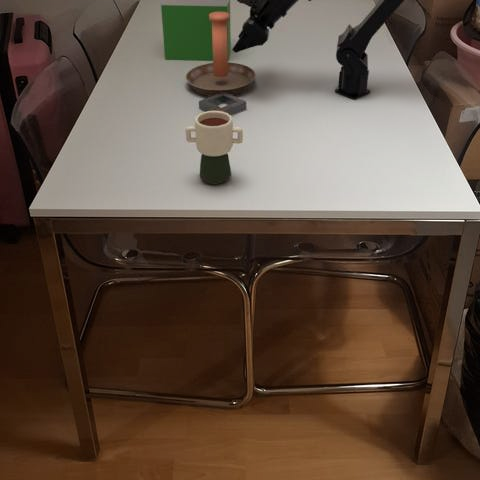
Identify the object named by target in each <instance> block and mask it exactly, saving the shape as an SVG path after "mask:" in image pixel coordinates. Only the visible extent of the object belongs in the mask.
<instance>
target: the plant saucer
mask: <svg viewBox="0 0 480 480" xmlns="http://www.w3.org/2000/svg"><path fill="white" fill-rule="evenodd" d="M185 75H186V76H185V80H186V82H187V83H188V85H189V86H190V87H191V88H192V89H193V90H195V91H196V92H197V93H198V94H202V95H204V96H208V97H211V96H214V95H216V94H219V93H222V92H226V93H228V94H231V95H233V96H235V95H238V94H240V93H242V92H245V90H247V89H248V88H249V87H250V86H251V85H252V83H253V82H254V80H255V78H256V72H255V70H254V69H252V68H251V67H249V66H247V65H245V64H241V63H237V62H230V61H228V75H227V76H225V77H216V76H214V72H213V62H209V63H205V64H201V65H197V66H195V67H193V68H191V69H190V70H189V71H187V73H186V74H185Z"/></svg>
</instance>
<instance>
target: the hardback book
mask: <svg viewBox="0 0 480 480" xmlns="http://www.w3.org/2000/svg"><path fill="white" fill-rule="evenodd" d="M160 8H161V9H160V10H161V23H162V34H163V35H162V36H163V47H164V49H163V50H164V59H165V61H187V62H188V61H194V62H213V42H212V21H210V20H209V14H210V13H212V12H227V13H229V20H227V60H228V61H229V60H230V56H231V53H232V47H231V46H232V45H231V44H232V43H231V39H232V37H231V0H160Z"/></svg>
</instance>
